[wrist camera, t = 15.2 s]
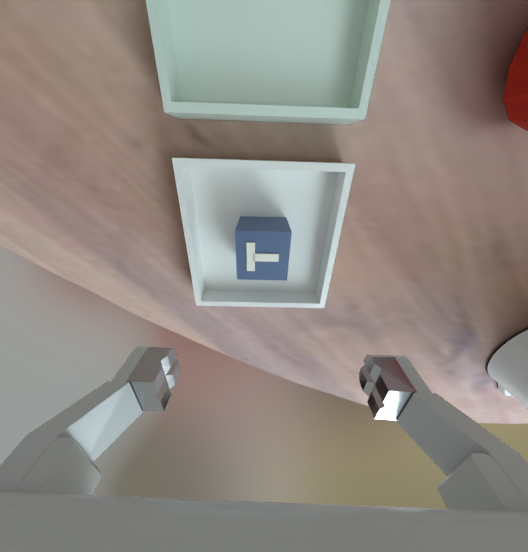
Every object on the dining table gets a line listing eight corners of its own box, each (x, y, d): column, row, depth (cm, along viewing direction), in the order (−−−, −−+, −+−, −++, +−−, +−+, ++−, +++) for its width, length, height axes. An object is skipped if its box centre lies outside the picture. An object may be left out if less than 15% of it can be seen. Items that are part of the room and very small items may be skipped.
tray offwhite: (342, 162, 19) (355, 163, 16) (318, 292, 26) (324, 308, 23) (184, 157, 19) (171, 157, 16) (202, 290, 26) (196, 305, 23)
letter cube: (286, 217, 21) (291, 232, 17) (282, 259, 23) (287, 281, 19) (240, 216, 21) (234, 230, 17) (241, 258, 23) (236, 280, 19)
